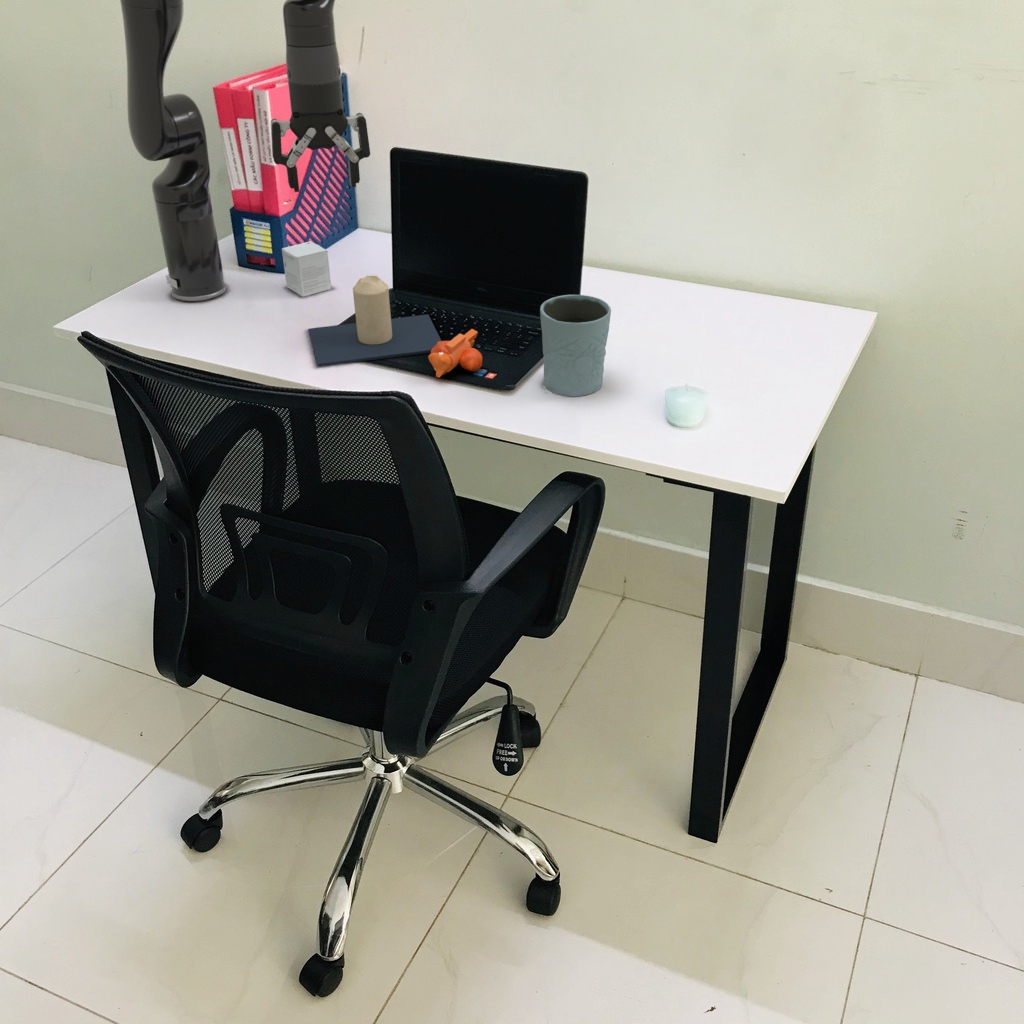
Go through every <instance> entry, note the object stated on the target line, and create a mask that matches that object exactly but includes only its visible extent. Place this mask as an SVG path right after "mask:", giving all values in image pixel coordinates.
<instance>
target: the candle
mask: <svg viewBox="0 0 1024 1024" xmlns="http://www.w3.org/2000/svg"><path fill="white" fill-rule="evenodd" d="M389 292H390V291H389V285H388V284H387V283H386V282H385V281H383V280H382V279H381V278H379V276H378V275H366V276H365V277H363V278H362V277H360V278H359V279H358V281H357V282H356V283H355V284H354V285H353V287H352V294H353V301H354V302H353V305H354V315H355V323H356V325H357V334H358V339H359V341H360V342H362V343H364V344H370V345H376V344H382V343H385V342H388V341H389V340H391V338H392V326H391V319H392V315H391V304H390V293H389Z"/></svg>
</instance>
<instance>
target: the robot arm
mask: <svg viewBox="0 0 1024 1024" xmlns="http://www.w3.org/2000/svg"><path fill="white" fill-rule="evenodd" d="M119 1H120V8H121V15H122V23H123V33H124V42H125V43H124V44H125V45H124V46H125V56H126V93H127V94H126V95H127V96H126V97H127V98H126V100H127V101H126V104H127V105H126V106H127V124H128V130H129V135H130V138H131V141H132V143H133V146H134V148H135V151H137V153H138V154H139V156H140V157H142V158H143V159H145V160H147V161H150V162H158V161H164V160H167V159H168V162H167V164H166V165H165V167H164V168H163V170H162V171H160V173H159V174H157V176H156V177H154V179H153V180H152V182H151V192H152V196H153V201H154V206H155V211H156V216H157V220H158V225H159V232H160V237H161V241H162V247H163V251H164V258H165V263H166V269H167V272H168V275H167V274H166V275H165V278H166V283H167V284H168V285H169V286H170V292H171V295H172V297H173V298H174V299H175V300H178V301H184V302H202V301H208V300H211V299H215V298H217V297H219V296H221V295H223V294H224V293H226V291H227V283H226V282H225V277H224V270H223V263H222V257H221V253H220V246H219V240H218V234H217V233H218V232H217V227H216V221H215V217H214V211H213V205H212V199H211V193H210V186H209V184H210V179H211V166H210V165H211V164H210V158H209V150H208V147H209V146H208V138H207V133H206V132H207V131H206V127H205V122H204V119H203V116H202V115H203V114H202V113H201V110H200V108H199V106H198V104H197V103H196V102H195V101H194V100H193V99H192V98H191V97H190V96H188V95H187V94H185V93H172V94H167V95H164V83H165V82H164V79H165V71H166V67H167V64H168V61H169V58H170V55H171V53H172V51H173V47H174V45H175V43H176V41H177V38H178V36H179V33H180V30H181V27H182V23H183V20H184V13H185V11H184V8H185V7H184V0H119ZM335 2H336V0H285V1H284V3H283V4H282V18H283V28H284V38H285V63H286V64H285V65H286V76H287V84H288V85H287V86H288V92H289V93H288V94H289V103H290V113H291V114H290V118H289V120H278V119H277V118H272V119H271V120H270V135H271V153H272V155H271V156H272V159H273V162H274V164H275V165H282V166H285V167H286V175H287V183H288V186H289V188H290V189H293V191H294V193H300V185H299V176H298V167H297V162H298V161H299V159H300V157H302V156H303V154H304V152H305V151H306V150H307V149H310V151H317V150H319V149H325V150H330V149H333V148H334V147H336V146H337V147H338V148H339V150H340V151H341V152H342V153H343V154H344V155H345V156H346V157H347V158H348V159H347V167H348V179H349V180H348V182H349V185H350V188H357V184H360V181H361V178H360V177H361V176H360V175H361V174H360V161H361V160H363V159H366V158H369V157H371V148H370V142H369V131H368V125H367V124H368V123H367V119H366V117H365V115H364V114H363V113H362V112H358V113H356V114H355V115H351V116H350V115H349V116H346V114H345V113H344V112H345V111H344V101H343V89H342V77H341V74H342V68H341V65H340V57H339V52H338V46H337V39H336V27H335V26H336V25H335V16H334V15H335V14H334V9H335ZM348 126H351V127H352V130H353V131H354V132H356V133H357V137H358V145H359V147H358V148H356V149H354V148H353V147H352V146H351V145H350V144H349V143H348V141H347V140H346V139H345V138H344V137H343V135H344V133H345V131H346V130H347V128H348ZM288 130H290V131H291V132H292V133H293V134H294V135H295V137H296V138H295V140H294V141H293V142H292V144H291V147H290V149H289V151H288V152H287V154H285V153H283V152H282V151H283V150H282V138H284V137H285V136H286V134H287V131H288Z"/></svg>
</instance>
